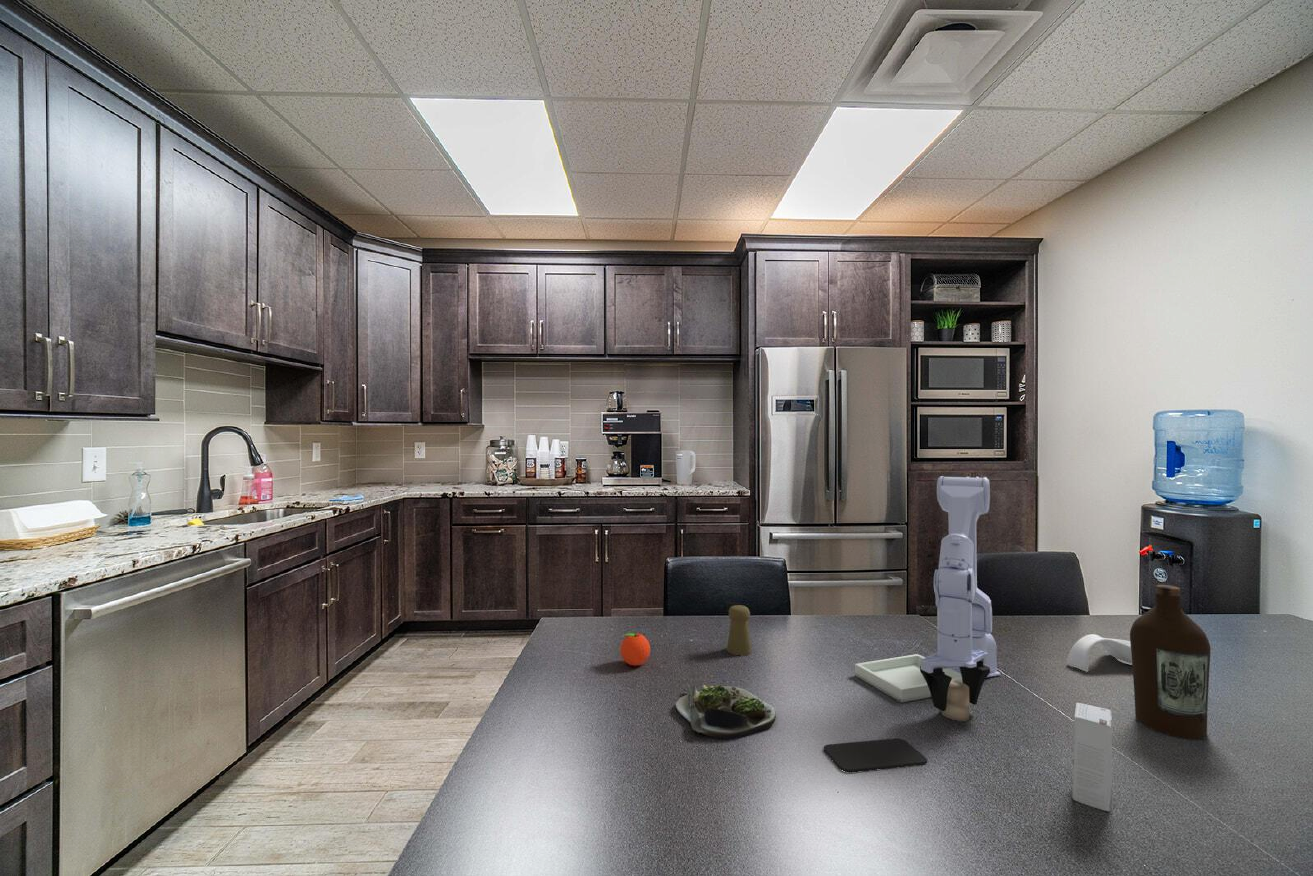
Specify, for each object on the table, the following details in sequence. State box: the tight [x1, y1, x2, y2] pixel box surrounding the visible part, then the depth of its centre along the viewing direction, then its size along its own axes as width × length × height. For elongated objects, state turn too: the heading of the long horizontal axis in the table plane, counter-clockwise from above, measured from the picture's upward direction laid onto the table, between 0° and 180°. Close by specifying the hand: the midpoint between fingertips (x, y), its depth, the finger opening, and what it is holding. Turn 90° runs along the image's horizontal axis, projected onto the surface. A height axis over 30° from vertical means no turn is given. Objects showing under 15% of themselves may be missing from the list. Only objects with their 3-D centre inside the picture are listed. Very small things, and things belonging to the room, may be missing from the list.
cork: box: [726, 604, 753, 656], centre depth 134 cm, size 6×6×11 cm
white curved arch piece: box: [1066, 633, 1132, 671], centre depth 126 cm, size 24×12×7 cm, turn 105°
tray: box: [854, 653, 963, 703], centre depth 117 cm, size 18×14×2 cm
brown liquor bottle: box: [1129, 584, 1211, 740], centre depth 99 cm, size 11×11×25 cm
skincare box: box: [1071, 702, 1113, 812], centre depth 78 cm, size 6×4×12 cm
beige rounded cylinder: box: [940, 680, 970, 722], centre depth 102 cm, size 5×5×6 cm
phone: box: [823, 737, 928, 774], centre depth 89 cm, size 7×1×15 cm
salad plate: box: [675, 684, 777, 740], centre depth 104 cm, size 19×18×5 cm
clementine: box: [620, 632, 651, 667], centre depth 126 cm, size 8×7×7 cm
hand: (955, 705), depth 102 cm, fingers open, 7 cm apart
